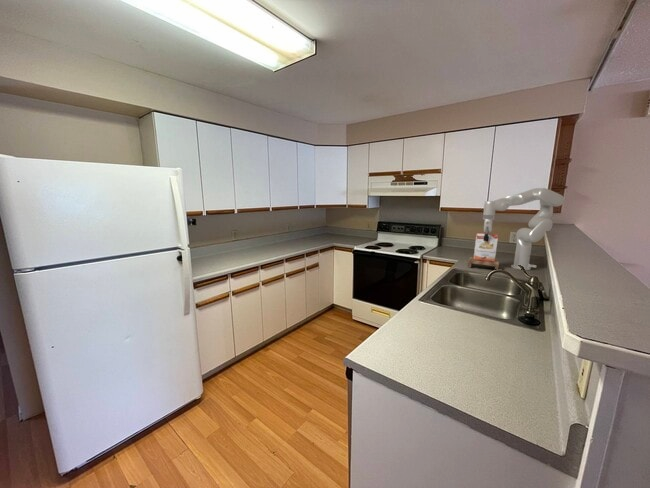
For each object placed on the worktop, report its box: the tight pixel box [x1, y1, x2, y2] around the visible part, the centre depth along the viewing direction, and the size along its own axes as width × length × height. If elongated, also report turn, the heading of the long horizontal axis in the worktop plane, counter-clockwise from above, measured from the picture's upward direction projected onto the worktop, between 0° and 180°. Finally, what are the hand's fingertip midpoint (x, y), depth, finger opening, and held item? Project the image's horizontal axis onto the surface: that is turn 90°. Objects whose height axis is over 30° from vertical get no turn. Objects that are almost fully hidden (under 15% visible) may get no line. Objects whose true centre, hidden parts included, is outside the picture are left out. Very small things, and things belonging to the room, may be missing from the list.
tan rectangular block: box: [467, 256, 500, 270], centre depth 209 cm, size 20×14×6 cm
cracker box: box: [473, 232, 499, 262], centre depth 206 cm, size 14×6×21 cm, turn 68°
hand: (486, 240), depth 205 cm, fingers open, 7 cm apart
